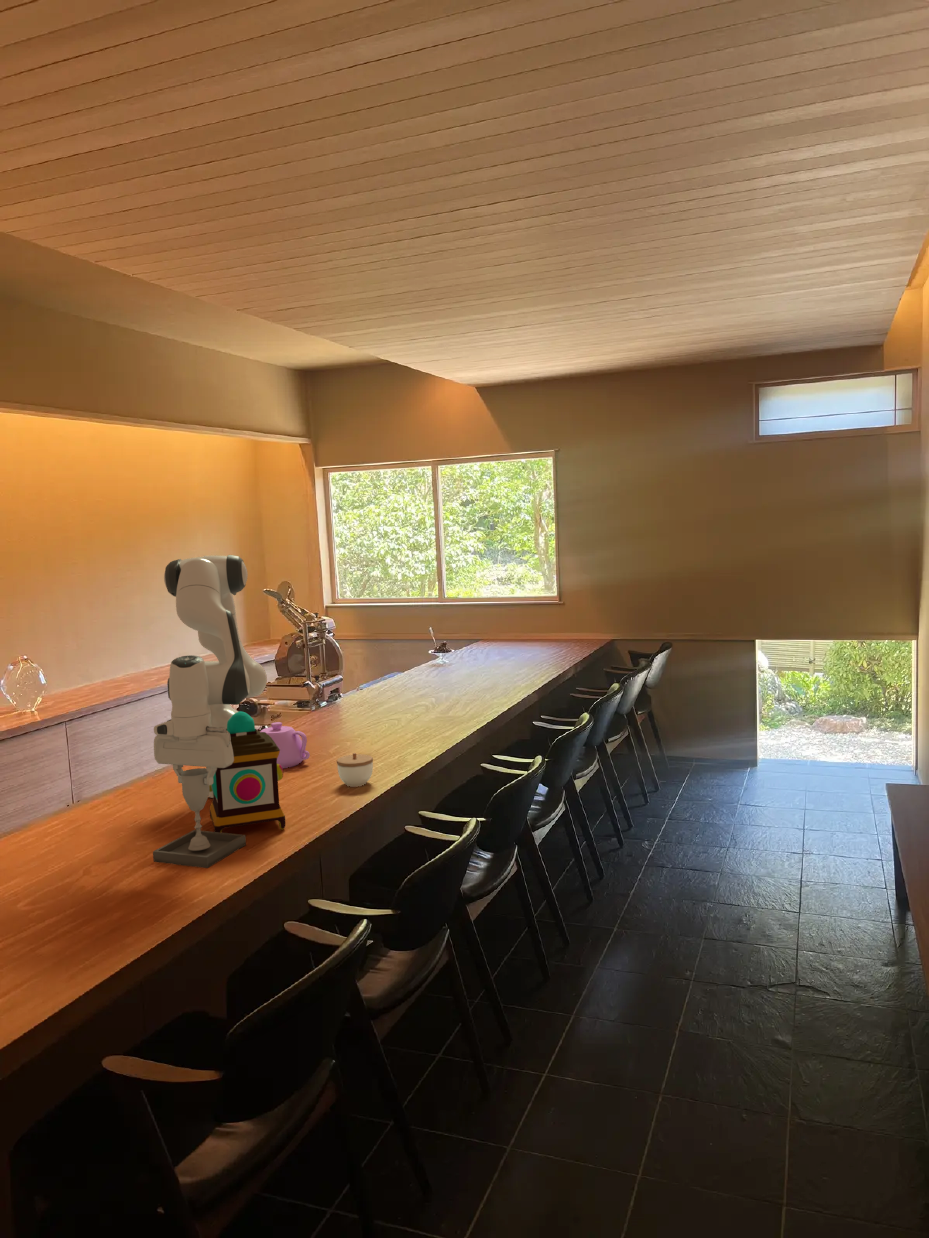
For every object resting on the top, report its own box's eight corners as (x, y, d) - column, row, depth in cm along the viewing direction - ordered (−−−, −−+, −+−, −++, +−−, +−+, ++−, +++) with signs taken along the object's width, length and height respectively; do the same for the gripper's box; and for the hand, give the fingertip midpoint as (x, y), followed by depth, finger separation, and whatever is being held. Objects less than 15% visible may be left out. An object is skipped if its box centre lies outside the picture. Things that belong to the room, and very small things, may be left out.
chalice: (204, 839, 209) (200, 766, 207) (221, 844, 204) (216, 770, 203) (177, 848, 203) (172, 773, 202) (194, 854, 199) (189, 777, 197)
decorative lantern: (204, 819, 230) (197, 708, 227) (279, 808, 236) (273, 700, 234) (210, 843, 211) (202, 723, 208) (291, 830, 218) (285, 714, 215)
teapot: (322, 757, 290) (319, 717, 289) (297, 772, 273) (294, 729, 272) (256, 755, 297) (253, 716, 296) (228, 768, 281) (225, 727, 279)
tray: (194, 839, 214) (194, 829, 214) (246, 844, 209) (245, 834, 208) (153, 861, 200) (152, 851, 200) (207, 868, 195) (206, 857, 194)
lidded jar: (330, 787, 255) (329, 756, 254) (351, 777, 264) (350, 747, 264) (360, 790, 250) (359, 759, 249) (381, 780, 259) (379, 750, 259)
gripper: (237, 724, 201) (241, 782, 202) (165, 721, 208) (169, 777, 209) (220, 730, 195) (224, 790, 196) (147, 727, 202) (152, 784, 203)
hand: (195, 783), depth 203 cm, fingers closed on chalice, 6 cm apart
